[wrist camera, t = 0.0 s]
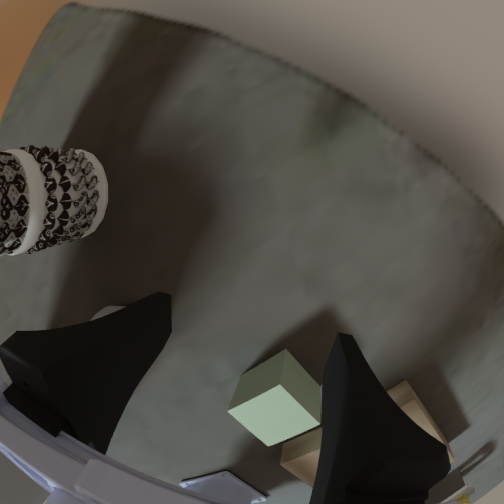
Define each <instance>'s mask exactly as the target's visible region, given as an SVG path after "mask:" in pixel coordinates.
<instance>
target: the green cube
mask: <svg viewBox="0 0 504 504" xmlns="http://www.w3.org/2000/svg"><path fill="white" fill-rule="evenodd" d="M227 411H228V412H229V413H230V414H231V415H232V416H233V417H234V418H235V419H237V420H238V421H239V422H240V423H241V424H242V425H243V426H245V427H246V428H247V429H248V430H249V431H250V432H251V433H253V434H254V435H255V436H256V437H257V438H259V439H260V440H261V441H262V442H263V443H265V444H266V445H267V446H268V447H269V446H271V445H274V444H276V443H279V442H281V441H284V440H286V439H289V438H291V437H293V436H296V435H298V434H300V433H302V432H305V431H307V430H309V429H311V428H313V427H316V426H318V425H320V386H319V385H318V384H317V382H316V381H315V380H314V379H313V378H312V377H311V376H310V375H309V374H308V373H307V372H306V370H305V369H304V368H303V367H302V366H301V365H300V364H299V363H298V362H297V361H296V359H295V358H294V357H293V356H292V355H291V354H290V353H289V352H288V351H287V349H284V350H283V351H281V352H279V353H278V354H276V355H275V356H273V357H271V358H270V359H268V360H266V361H265V362H263V363H261V364H260V365H258V366H256V367H255V368H253V369H251V370H249V371H248V372H246V373H244V374H242V375H241V376H240V379H239V382H238V384H237V387H236V390H235V392H234V395H233V397H232V400H231V403H230V405H229V408H228V410H227Z"/></svg>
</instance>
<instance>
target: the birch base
mask: <svg viewBox="0 0 504 504" xmlns="http://www.w3.org/2000/svg"><path fill="white" fill-rule="evenodd" d="M386 392H387V393H388V394H389V395H390V397H391V398H392V399H393V400H394V401H395V403H396V404H397V405H398V406H399V407H400V408H401V409H402V410H403V411H404V412H405V413H406V414H407V415H408V416H409V417H410V418H411V419H412V420H413V421H414V422H415V423H416V424H417V425H419V426H420V427H421V428H422V429H424V430H425V431H426V432H427V433H429V434H430V435H431V436H433V437H434V438H436V439H437V440H439V441H440V442H442V443H443V444H445V445H446V447H447V450H448V454H449V459H450V464H451V463H453V462H454V461H455V459H454V456H453V454H452V451H451V449H450V446H449V444H448V442H447V440H446V439H445V437H444V436H443V434H442V432H441V431H440V429H439V428H438V426H437V425H436V423H435V422H434V420H433V419H432V417H431V415H430V414H429V412H428V411H427V409H426V408H425V406H424V405H423V403H422V402H421V400H420V399H419V397H418V396H417V394H416V393H415V392H414V390H413V389H412V387H411V386H410V384H409V383H408V381H407V380H406V379H405V380H404V381H402V382H401V383H399V384H397V385H396V386H394V387H393V388H391V389H389V390H388V391H386ZM321 440H322V427H319V428H317V429H315V430H313V431H311V432H309V433H306V434H304V435H302V436H300V437H297V438H295V439H293V440H290V441H288V442H285V443H283V447H282V453H281V459H280V465H281V466H283V467H284V468H285V469H287V470H288V471H289V472H291V473H292V474H293V475H295V476H296V477H298V478H299V479H300V480H302V481H303V482H305V483H306V484H308V485H309V486H311V487H312V488H313V486H314V481H315V476H316V471H317V466H318V460H319V454H320V447H321Z"/></svg>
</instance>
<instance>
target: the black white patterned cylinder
mask: <svg viewBox="0 0 504 504" xmlns="http://www.w3.org/2000/svg"><path fill="white" fill-rule="evenodd" d="M107 204H108V181H107V178H106V174H105V171H104V168H103V165H102V164H101V163H100V162H99V160H98V159H97V158H96V157H95V155H94V154H92V153H90V152H87V151H85V150H82V149H79V150H75V149H74V148H70V150H69V151H68V152H67V153H65V150H64V149H63V148H62V147H58V149H57V151H53V148H48V147H46V146H43V147H42V148H41V149H39V148H35V147H34V146H32V145H30V146H28V147H27V148H25V147H21V148H19V149H18V150H6V151H3V152H0V257H1V256H3V255H12V256H14V255H17V254H20V253H23V252H26V253H27V254H32V253H33V252H34V251H40V250H44V249H46V248H47V246H48V247H52V246H58V245H61V244H62V243H67V242H71V241H73V240H77V239H79V238H83V237H85V236H87V235H89V234H91V233H93V232H94V231H95V230H96V229H97V227H98V226H99V224H100V223H101V222H102V220H103V219H104V215H105V211H106V208H107Z"/></svg>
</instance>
